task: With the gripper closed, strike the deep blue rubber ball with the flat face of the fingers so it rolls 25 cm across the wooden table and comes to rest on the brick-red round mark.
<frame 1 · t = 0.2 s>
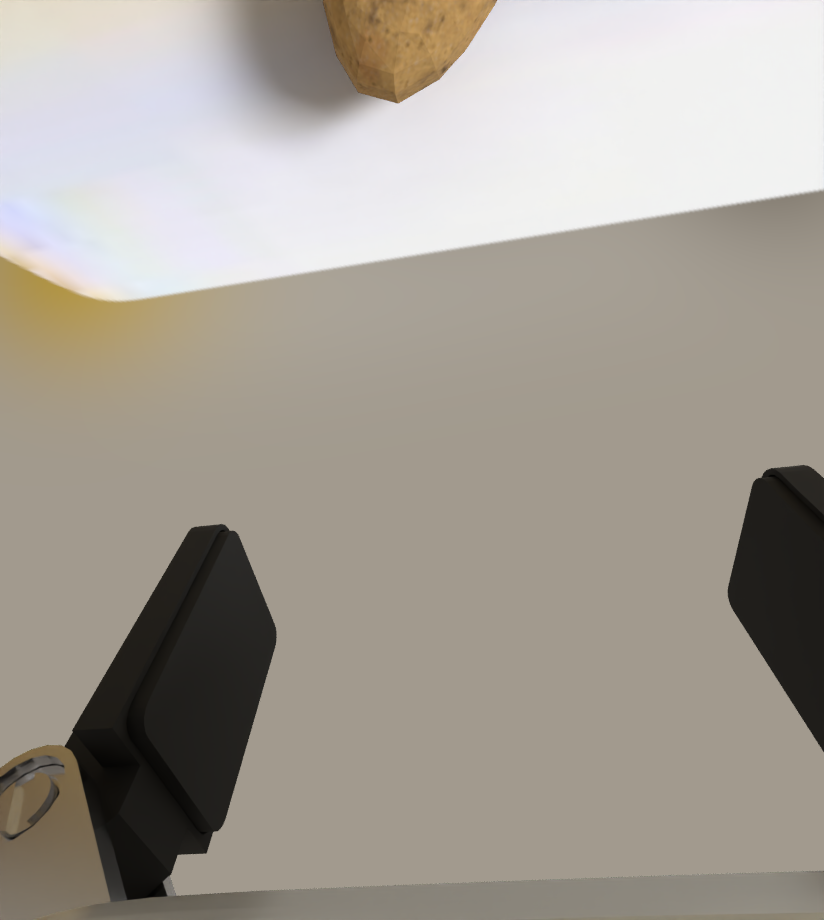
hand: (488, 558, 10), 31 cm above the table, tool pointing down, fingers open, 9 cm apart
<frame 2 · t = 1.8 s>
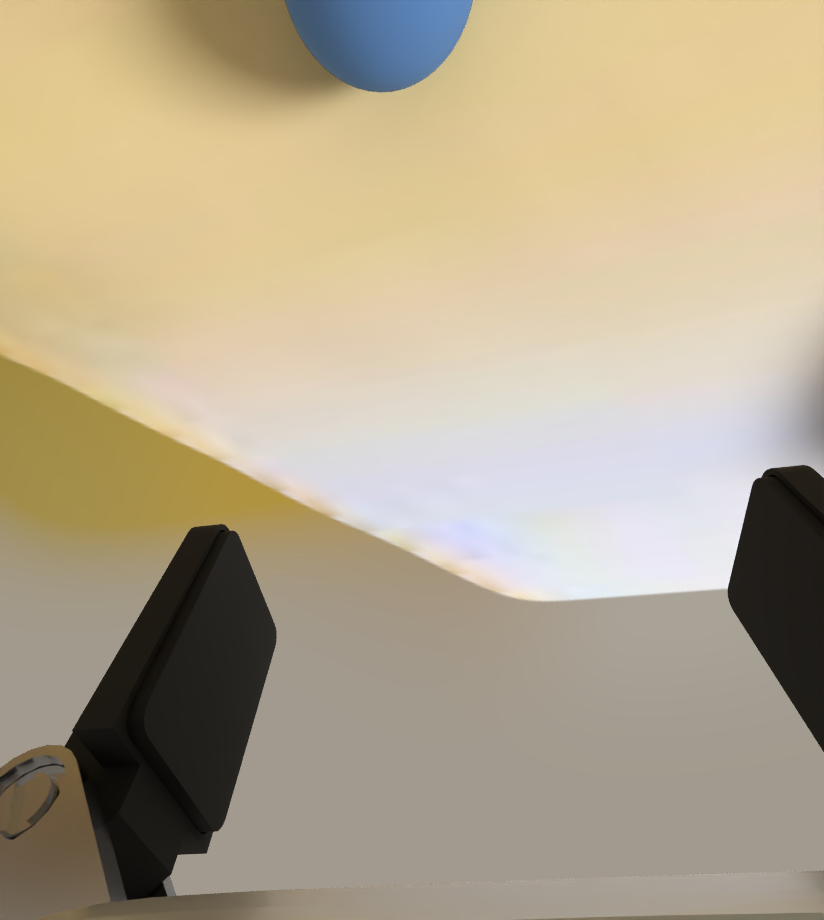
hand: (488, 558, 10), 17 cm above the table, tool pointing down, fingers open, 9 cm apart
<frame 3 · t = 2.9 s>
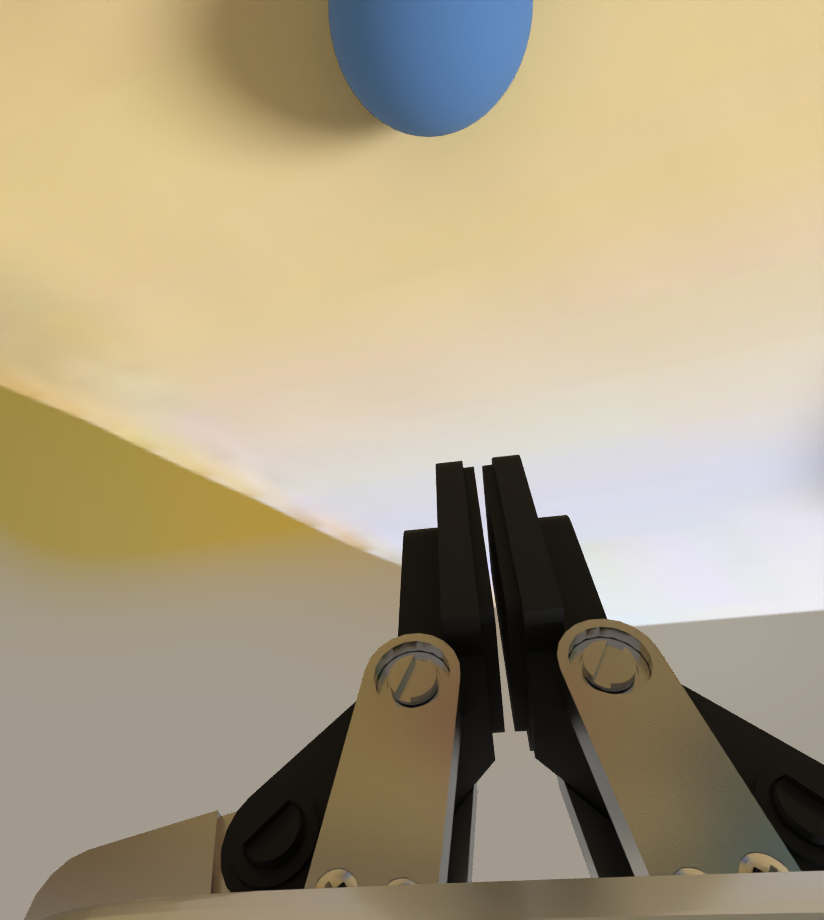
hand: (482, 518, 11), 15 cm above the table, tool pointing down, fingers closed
ball: (430, 19, 16), on the table
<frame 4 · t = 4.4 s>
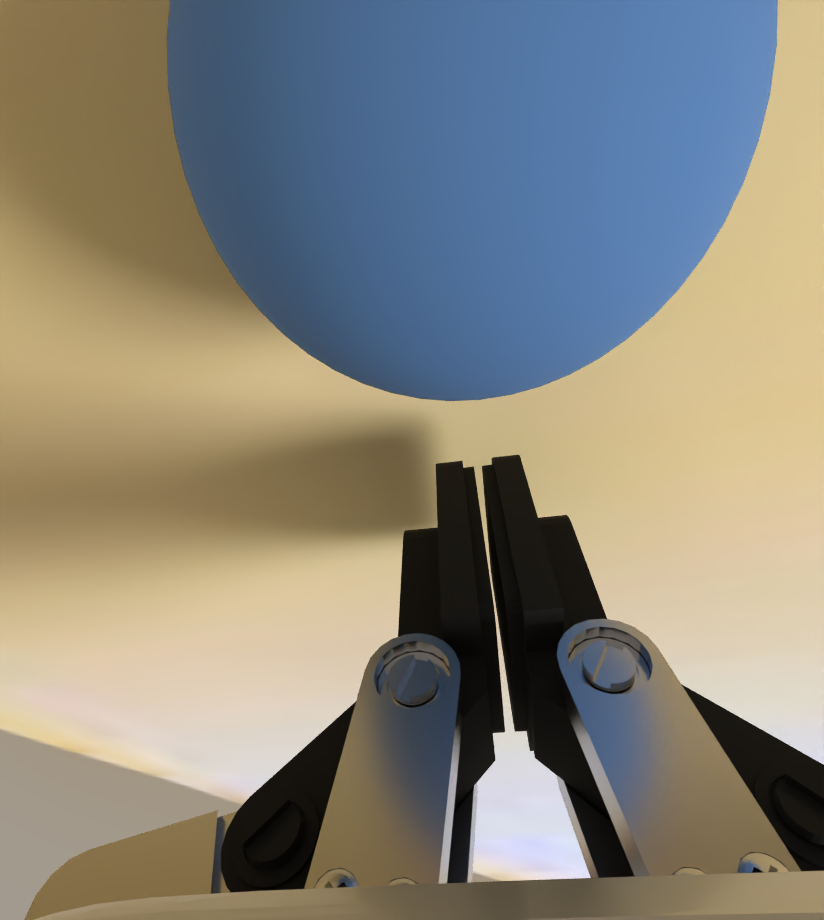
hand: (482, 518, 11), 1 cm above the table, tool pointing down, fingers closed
ball: (457, 135, 6), on the table
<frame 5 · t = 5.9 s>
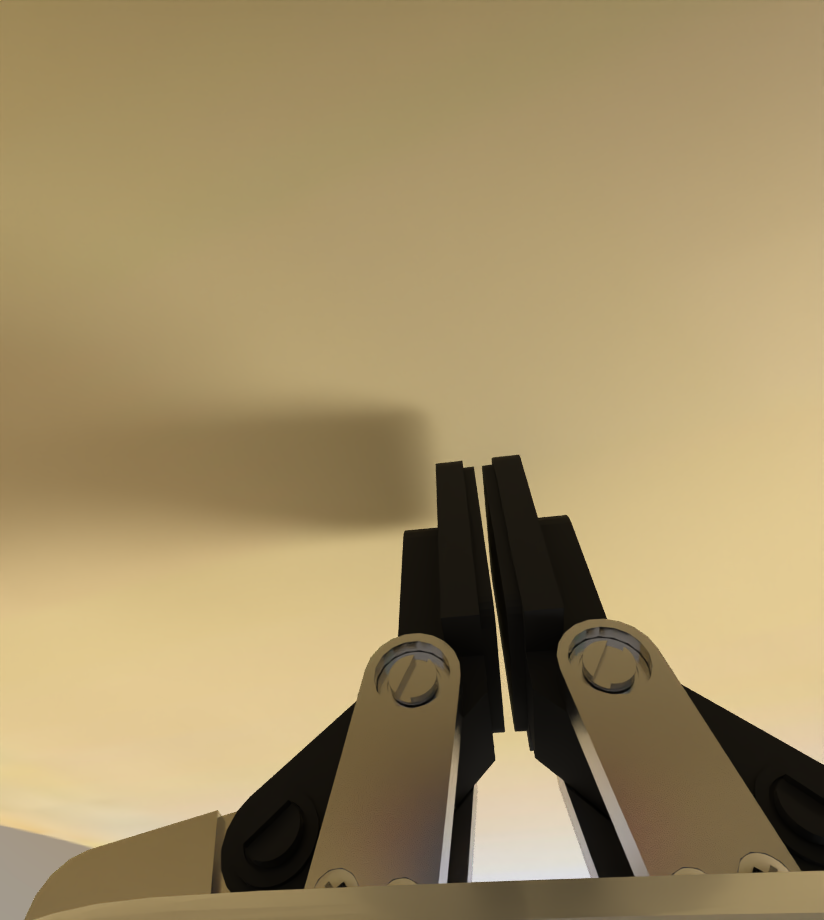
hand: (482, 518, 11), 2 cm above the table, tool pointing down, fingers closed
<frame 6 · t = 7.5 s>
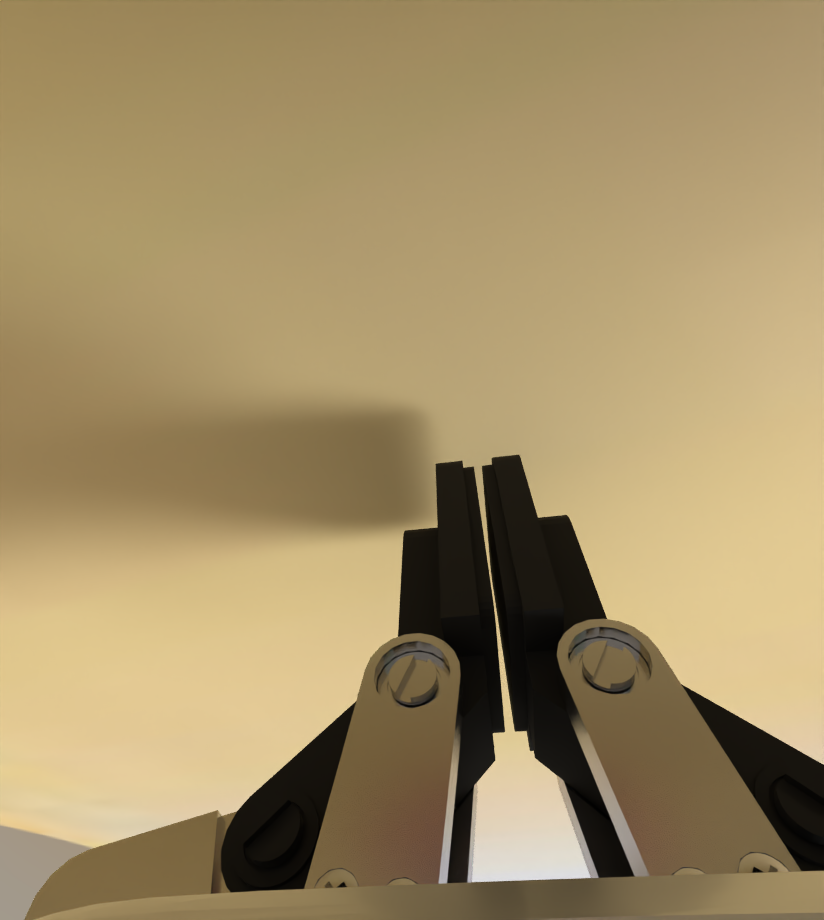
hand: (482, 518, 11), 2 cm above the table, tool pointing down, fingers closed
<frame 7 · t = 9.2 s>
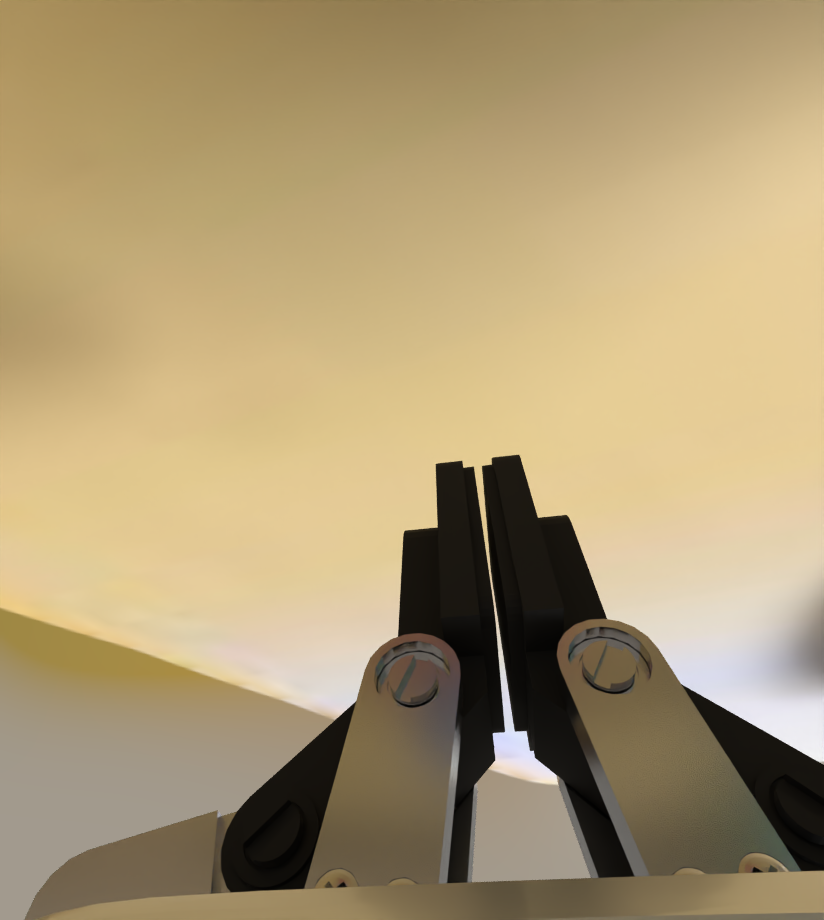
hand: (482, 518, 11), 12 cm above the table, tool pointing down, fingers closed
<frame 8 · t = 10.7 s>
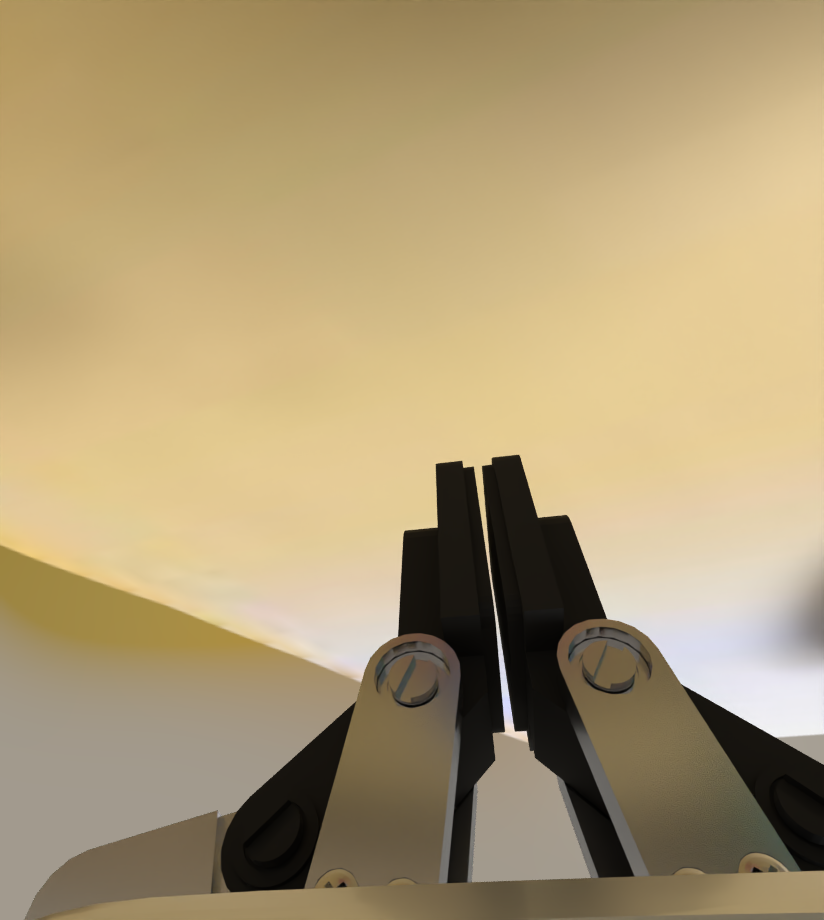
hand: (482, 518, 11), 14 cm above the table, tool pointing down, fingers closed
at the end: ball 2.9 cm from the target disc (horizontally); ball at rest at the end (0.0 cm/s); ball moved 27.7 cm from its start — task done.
